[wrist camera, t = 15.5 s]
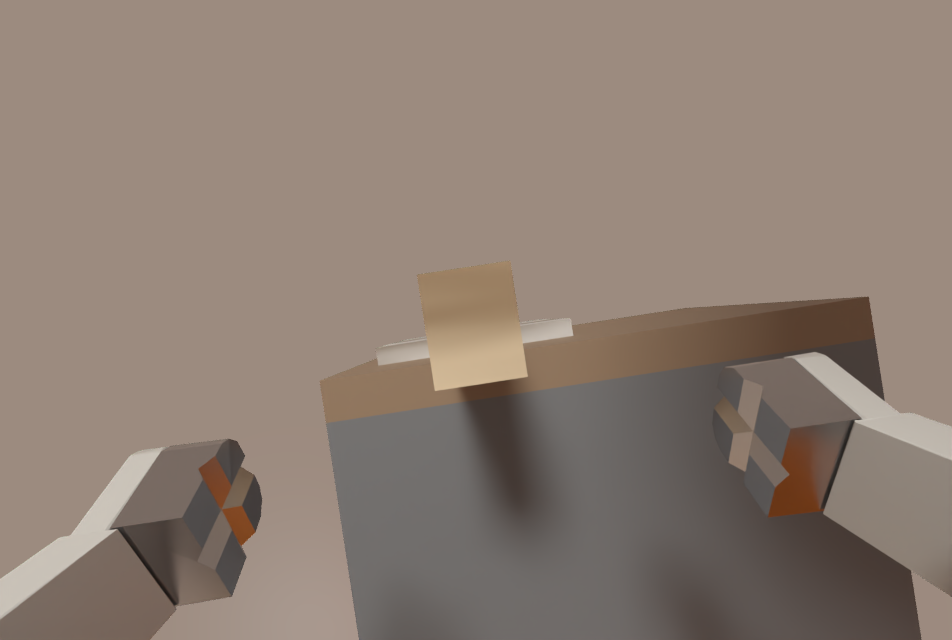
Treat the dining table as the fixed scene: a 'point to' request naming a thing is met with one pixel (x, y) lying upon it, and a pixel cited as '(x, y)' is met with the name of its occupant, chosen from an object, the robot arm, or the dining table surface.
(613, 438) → the grey box
